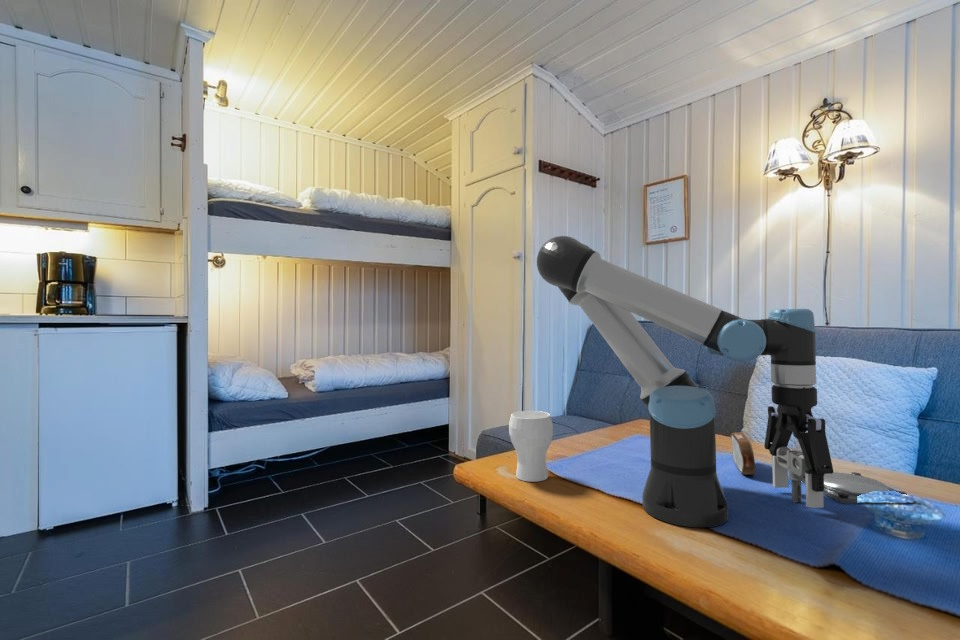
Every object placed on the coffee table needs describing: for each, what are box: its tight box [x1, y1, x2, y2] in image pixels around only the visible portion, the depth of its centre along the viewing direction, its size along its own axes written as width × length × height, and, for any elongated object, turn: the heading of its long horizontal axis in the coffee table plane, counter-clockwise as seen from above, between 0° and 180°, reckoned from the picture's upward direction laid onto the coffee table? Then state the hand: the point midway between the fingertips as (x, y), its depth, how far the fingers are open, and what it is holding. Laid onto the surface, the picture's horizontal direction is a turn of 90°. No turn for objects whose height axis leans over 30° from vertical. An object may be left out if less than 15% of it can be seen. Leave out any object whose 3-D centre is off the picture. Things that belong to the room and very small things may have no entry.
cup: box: [508, 410, 554, 483], centre depth 108 cm, size 11×11×15 cm
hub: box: [801, 471, 908, 504], centre depth 95 cm, size 14×14×2 cm
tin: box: [730, 431, 756, 477], centre depth 109 cm, size 15×3×8 cm, turn 159°
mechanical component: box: [777, 446, 815, 504], centre depth 89 cm, size 3×10×10 cm, turn 174°
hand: (796, 496), depth 89 cm, fingers open, 10 cm apart
